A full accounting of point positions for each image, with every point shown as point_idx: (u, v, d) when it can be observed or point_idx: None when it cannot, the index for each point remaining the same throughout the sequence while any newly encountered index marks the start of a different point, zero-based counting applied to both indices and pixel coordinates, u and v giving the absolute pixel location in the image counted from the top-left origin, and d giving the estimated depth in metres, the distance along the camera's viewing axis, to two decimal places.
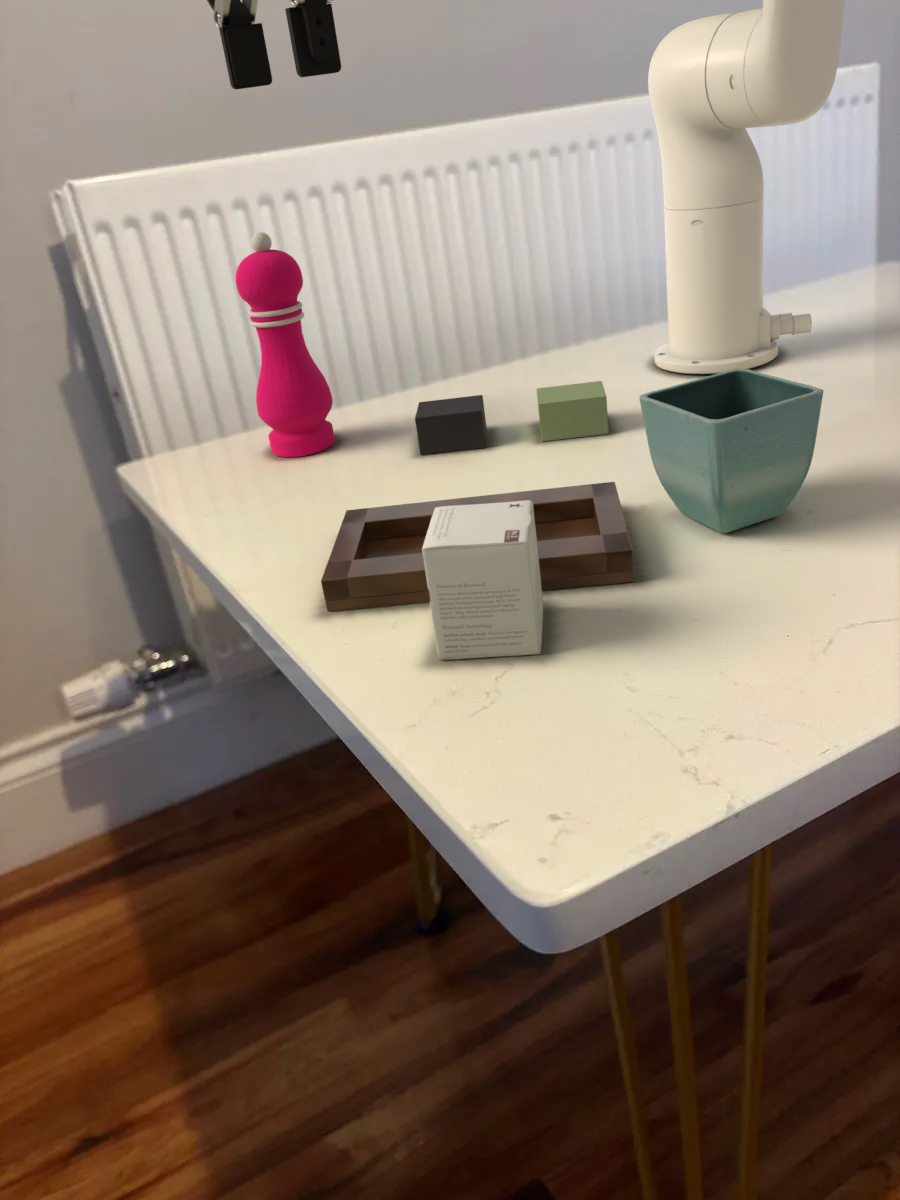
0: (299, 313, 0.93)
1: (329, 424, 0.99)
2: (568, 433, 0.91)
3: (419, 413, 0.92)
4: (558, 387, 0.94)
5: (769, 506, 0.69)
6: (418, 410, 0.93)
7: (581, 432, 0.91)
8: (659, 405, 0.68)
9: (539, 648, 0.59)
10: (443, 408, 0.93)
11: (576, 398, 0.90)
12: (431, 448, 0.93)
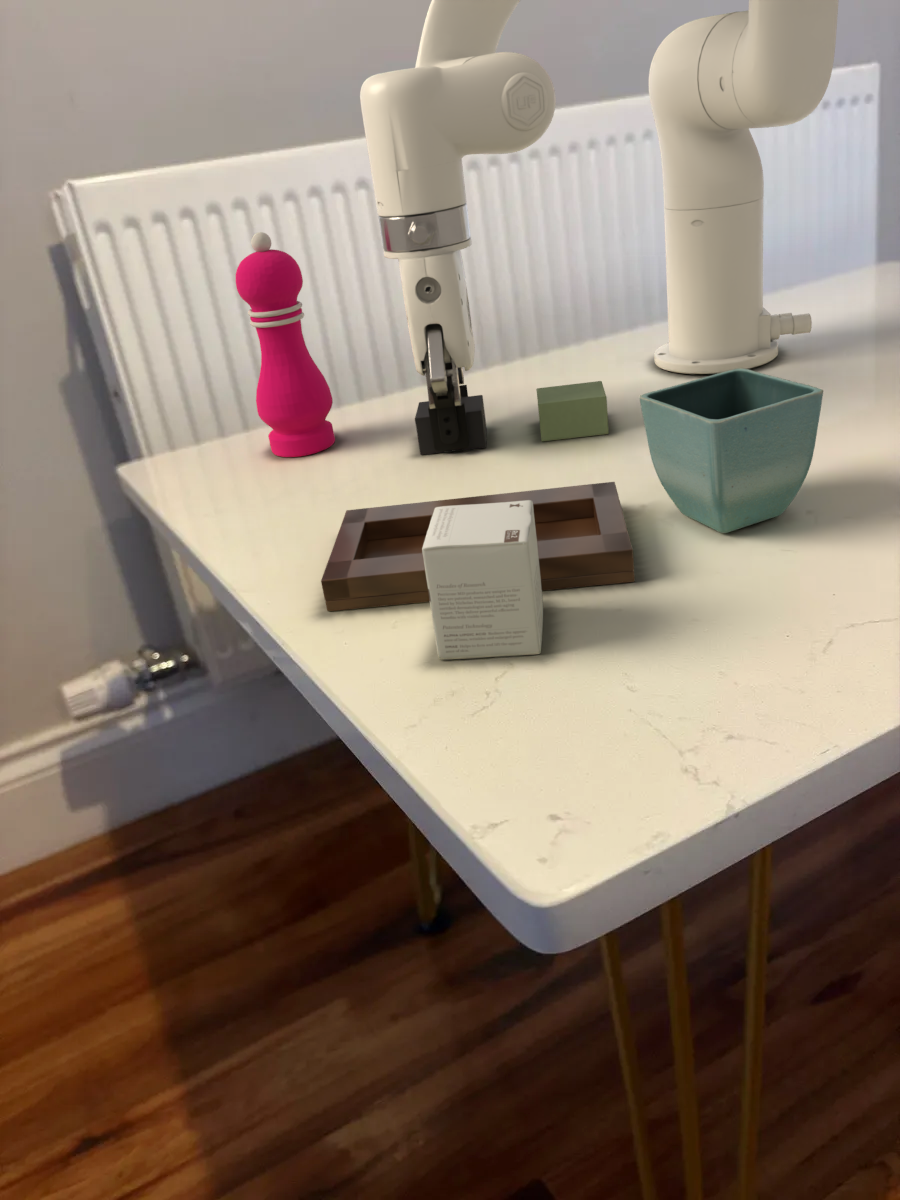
0: (299, 313, 0.93)
1: (329, 424, 0.99)
2: (568, 433, 0.91)
3: (419, 413, 0.92)
4: (558, 387, 0.94)
5: (769, 506, 0.69)
6: (418, 410, 0.93)
7: (581, 432, 0.91)
8: (659, 405, 0.68)
9: (539, 648, 0.59)
10: None
11: (576, 398, 0.90)
12: (431, 448, 0.93)
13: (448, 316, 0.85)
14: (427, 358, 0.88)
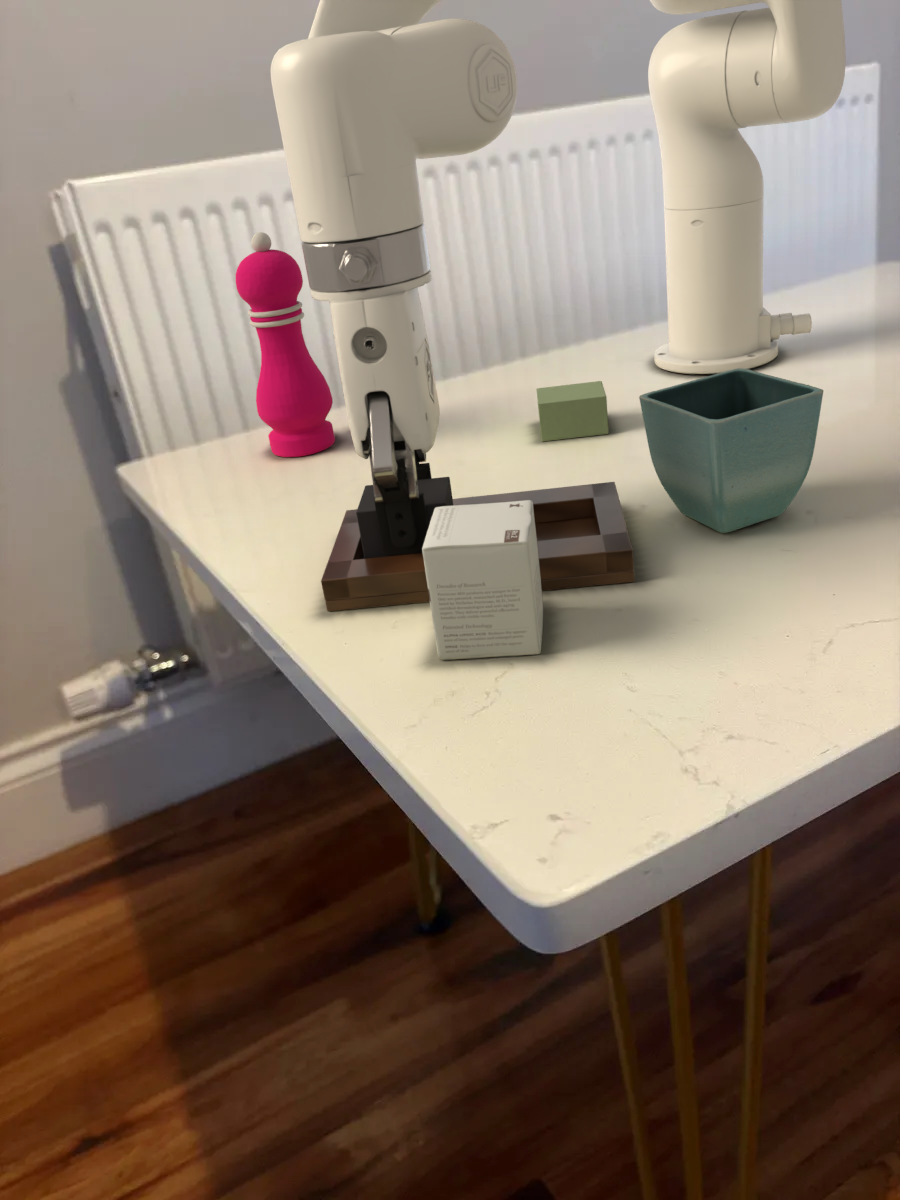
0: (299, 313, 0.93)
1: (329, 424, 0.99)
2: (568, 433, 0.91)
3: (363, 504, 0.69)
4: (558, 387, 0.94)
5: (769, 506, 0.69)
6: (362, 499, 0.70)
7: (581, 432, 0.91)
8: (659, 405, 0.68)
9: (539, 648, 0.59)
10: None
11: (576, 398, 0.90)
12: (379, 551, 0.69)
13: (397, 381, 0.61)
14: None
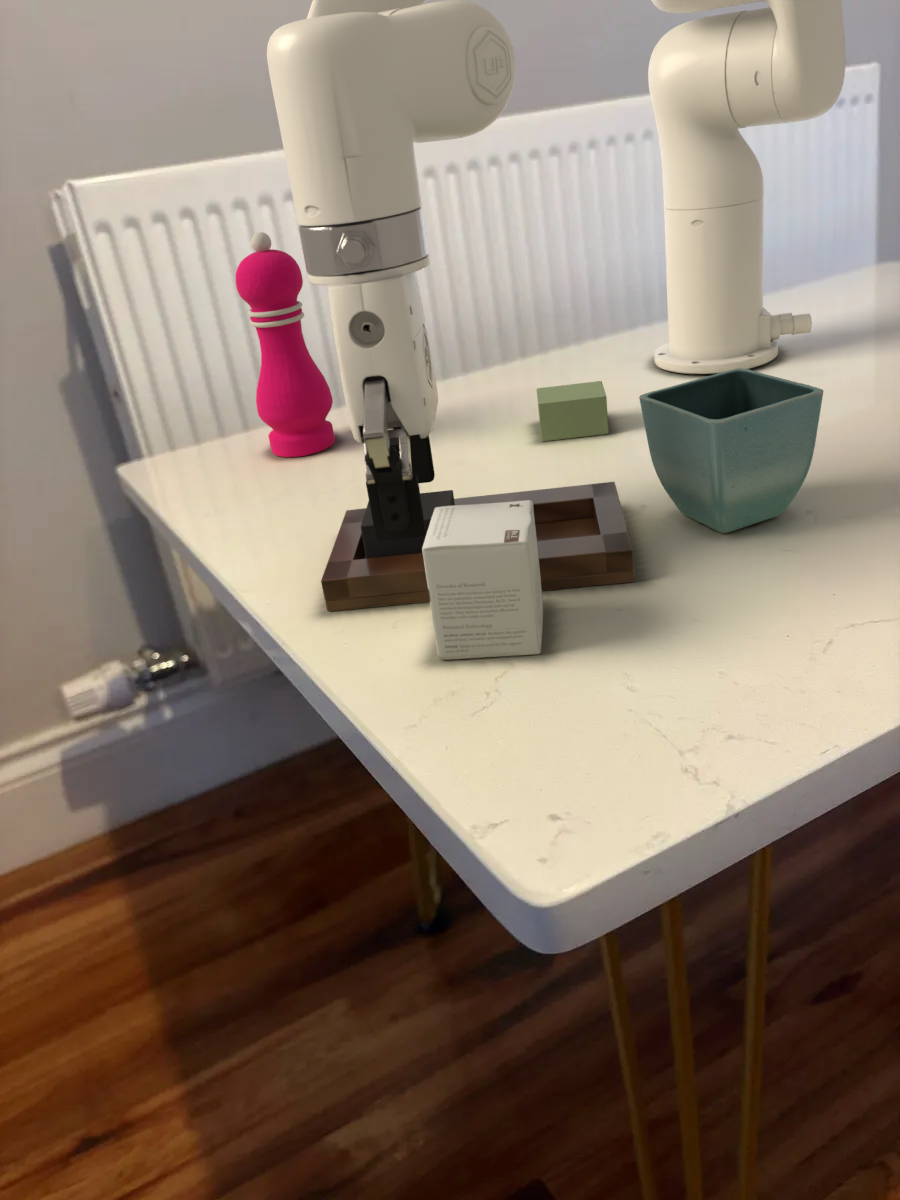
0: (299, 313, 0.93)
1: (329, 424, 0.99)
2: (568, 433, 0.91)
3: (367, 518, 0.69)
4: (558, 387, 0.94)
5: (769, 506, 0.69)
6: (366, 513, 0.70)
7: (581, 432, 0.91)
8: (659, 405, 0.68)
9: (539, 648, 0.59)
10: None
11: (576, 398, 0.90)
12: None
13: (395, 365, 0.61)
14: None
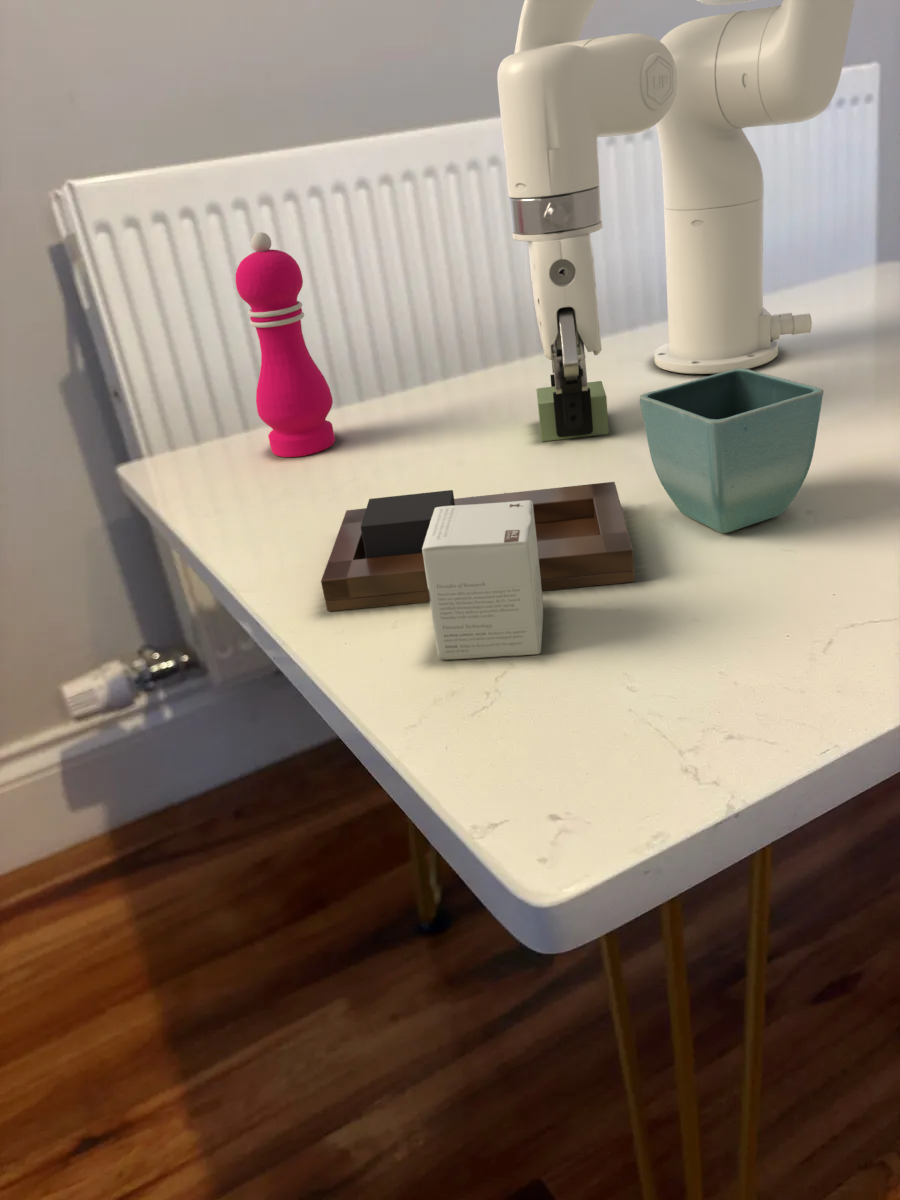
0: (299, 313, 0.93)
1: (329, 424, 0.99)
2: None
3: (367, 518, 0.69)
4: None
5: (769, 506, 0.69)
6: (366, 513, 0.70)
7: None
8: (659, 405, 0.68)
9: (539, 648, 0.59)
10: (399, 511, 0.70)
11: None
12: None
13: (582, 299, 0.84)
14: (555, 342, 0.87)
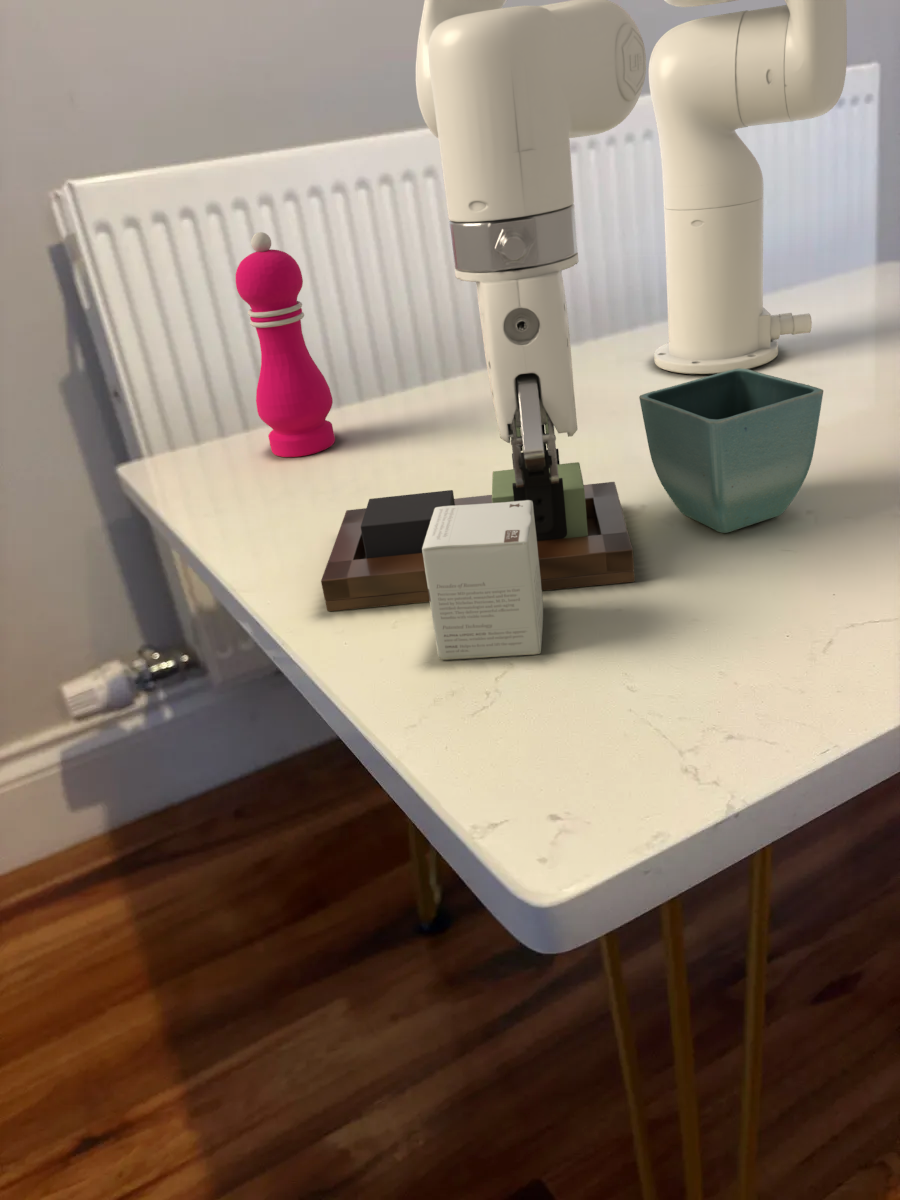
0: (299, 313, 0.93)
1: (329, 424, 0.99)
2: None
3: (367, 518, 0.69)
4: None
5: (769, 506, 0.69)
6: (366, 513, 0.70)
7: None
8: (659, 405, 0.68)
9: (539, 648, 0.59)
10: (399, 511, 0.70)
11: None
12: None
13: (549, 363, 0.60)
14: (514, 418, 0.64)
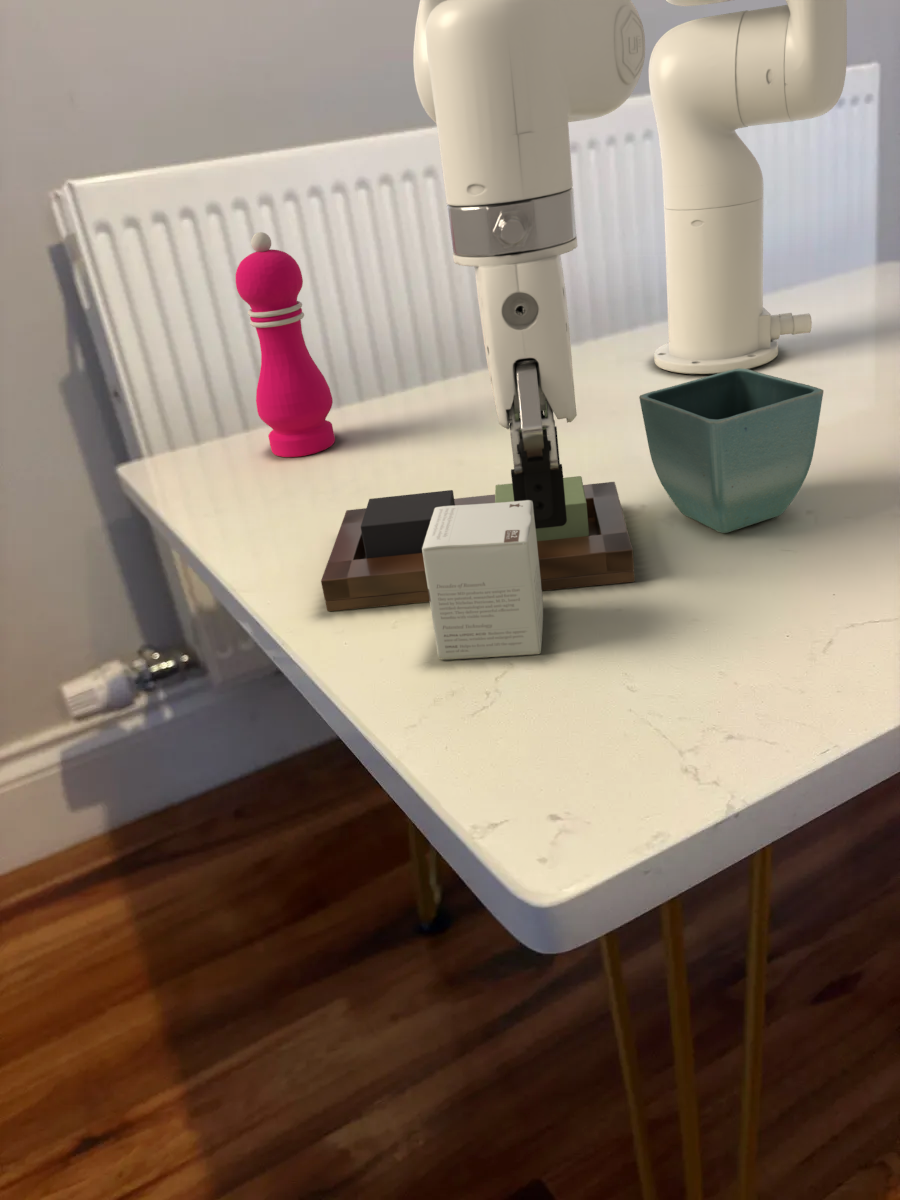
0: (299, 313, 0.93)
1: (329, 424, 0.99)
2: None
3: (367, 518, 0.69)
4: None
5: (769, 506, 0.69)
6: (366, 513, 0.70)
7: None
8: (659, 405, 0.68)
9: (539, 648, 0.59)
10: (399, 511, 0.70)
11: None
12: None
13: (548, 348, 0.60)
14: (512, 402, 0.63)
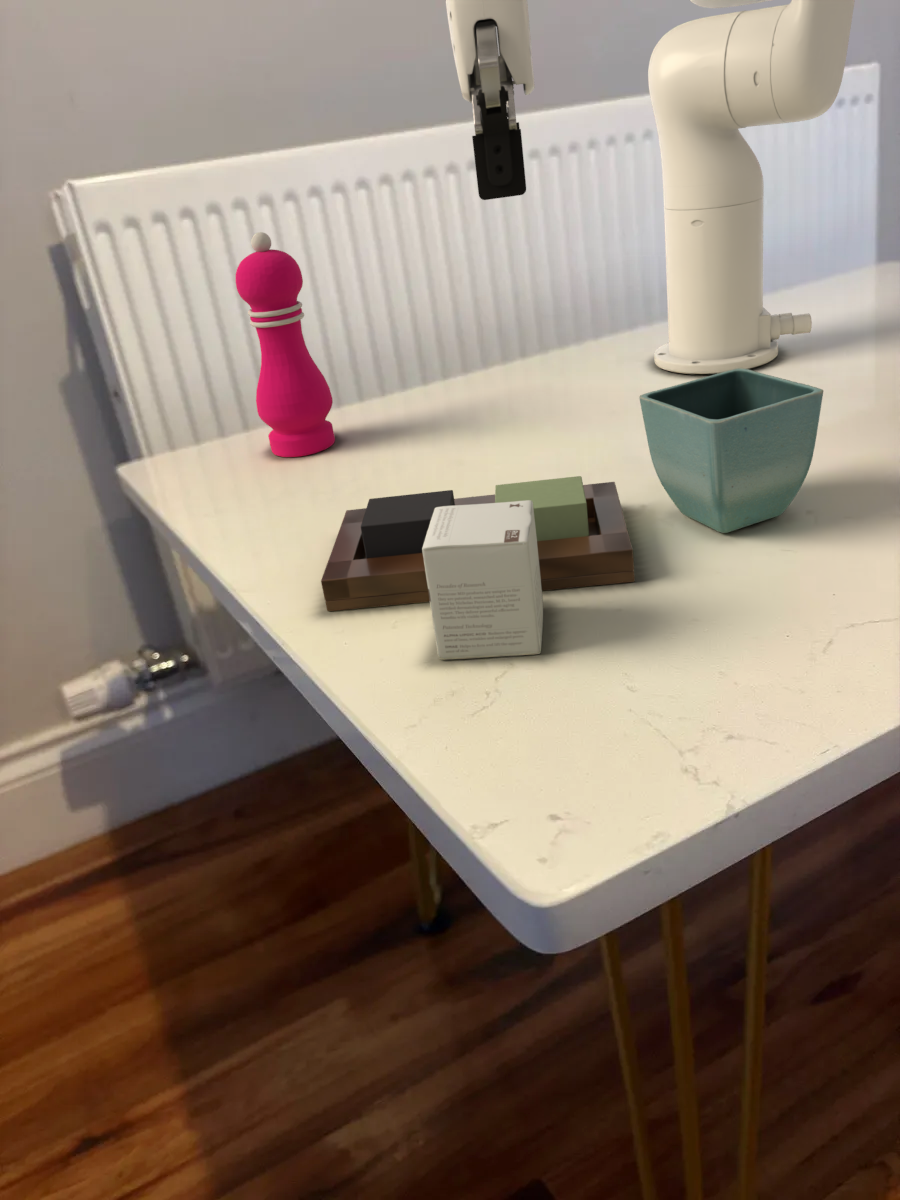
0: (299, 313, 0.93)
1: (329, 424, 0.99)
2: None
3: (367, 518, 0.69)
4: (524, 484, 0.71)
5: (769, 506, 0.69)
6: (366, 513, 0.70)
7: None
8: (659, 405, 0.68)
9: (539, 648, 0.59)
10: (399, 511, 0.70)
11: (546, 505, 0.67)
12: None
13: (505, 7, 0.64)
14: (474, 68, 0.67)
